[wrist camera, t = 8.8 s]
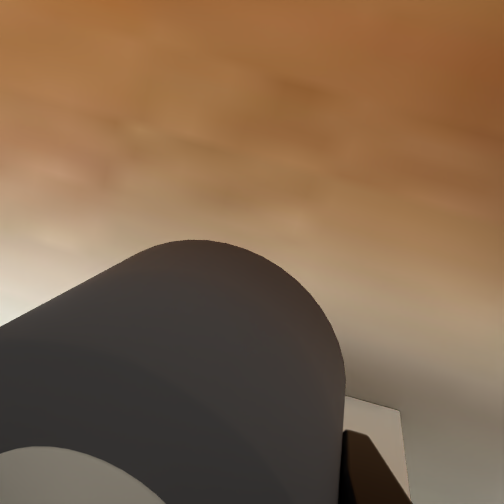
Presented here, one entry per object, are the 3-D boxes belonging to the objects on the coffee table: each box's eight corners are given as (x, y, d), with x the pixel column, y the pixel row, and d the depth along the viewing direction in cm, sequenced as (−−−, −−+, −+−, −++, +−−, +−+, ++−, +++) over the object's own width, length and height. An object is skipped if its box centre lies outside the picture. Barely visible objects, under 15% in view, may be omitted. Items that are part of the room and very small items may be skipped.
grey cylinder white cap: (312, 524, 10) (274, 837, 5) (74, 447, 11) (-120, 659, 6) (377, 278, 8) (394, 438, 4) (90, 212, 9) (-153, 283, 5)
